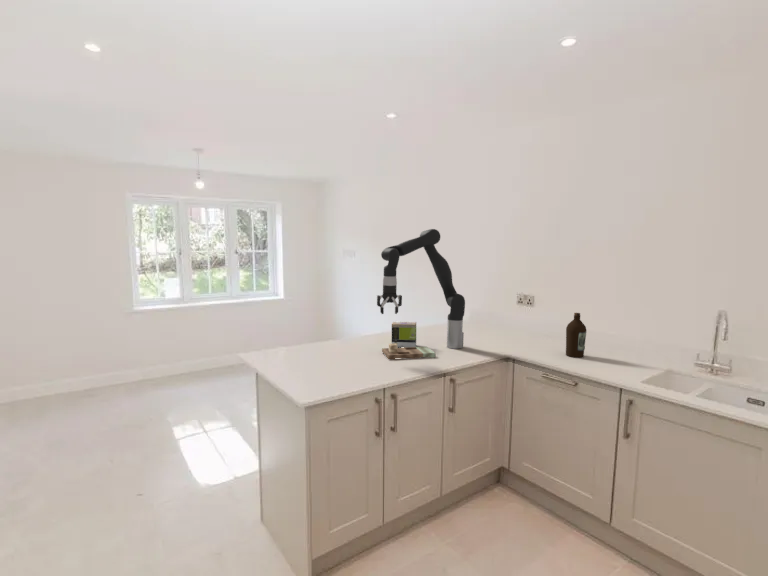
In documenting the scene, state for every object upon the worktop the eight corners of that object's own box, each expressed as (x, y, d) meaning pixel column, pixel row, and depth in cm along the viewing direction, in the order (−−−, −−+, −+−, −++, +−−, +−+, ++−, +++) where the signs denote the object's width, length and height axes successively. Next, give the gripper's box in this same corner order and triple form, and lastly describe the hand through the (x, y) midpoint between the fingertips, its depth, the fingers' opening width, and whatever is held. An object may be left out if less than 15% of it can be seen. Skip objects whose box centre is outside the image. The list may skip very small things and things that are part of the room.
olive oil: (560, 354, 246) (563, 312, 243) (571, 352, 252) (574, 311, 249) (577, 359, 237) (580, 315, 234) (588, 356, 243) (591, 313, 240)
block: (395, 350, 241) (395, 343, 240) (397, 352, 237) (397, 345, 237) (388, 350, 240) (388, 343, 240) (390, 352, 236) (390, 345, 236)
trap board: (426, 350, 251) (426, 346, 251) (435, 357, 237) (435, 352, 237) (382, 352, 245) (382, 348, 245) (388, 359, 230) (388, 355, 230)
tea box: (416, 344, 266) (416, 321, 264) (415, 348, 256) (416, 324, 254) (392, 343, 267) (392, 320, 266) (391, 347, 257) (391, 323, 256)
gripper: (400, 283, 239) (399, 312, 241) (375, 283, 236) (375, 312, 238) (404, 285, 232) (403, 314, 234) (378, 285, 229) (378, 315, 230)
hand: (389, 313), depth 236 cm, fingers open, 7 cm apart
